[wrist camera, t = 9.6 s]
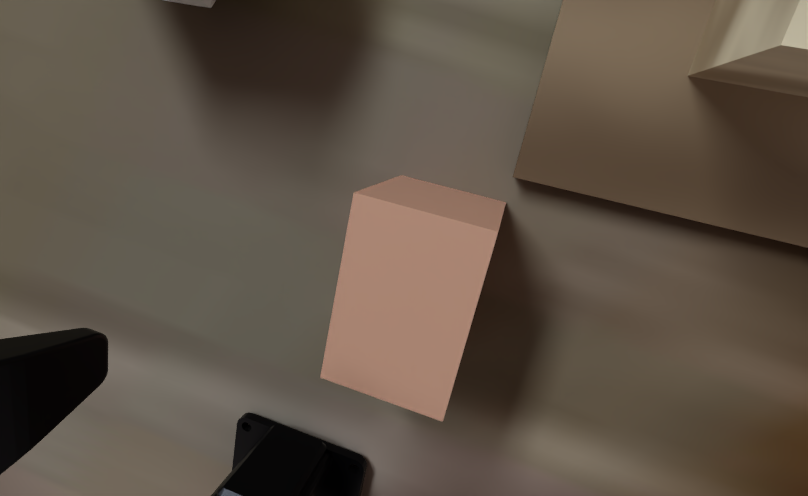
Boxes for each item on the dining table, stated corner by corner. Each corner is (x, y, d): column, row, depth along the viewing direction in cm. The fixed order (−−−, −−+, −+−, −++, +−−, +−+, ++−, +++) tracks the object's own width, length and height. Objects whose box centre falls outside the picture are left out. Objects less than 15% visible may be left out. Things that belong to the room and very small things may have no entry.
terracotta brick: (464, 345, 18) (442, 421, 13) (371, 315, 19) (320, 377, 14) (506, 202, 16) (498, 231, 11) (401, 174, 17) (353, 192, 12)
